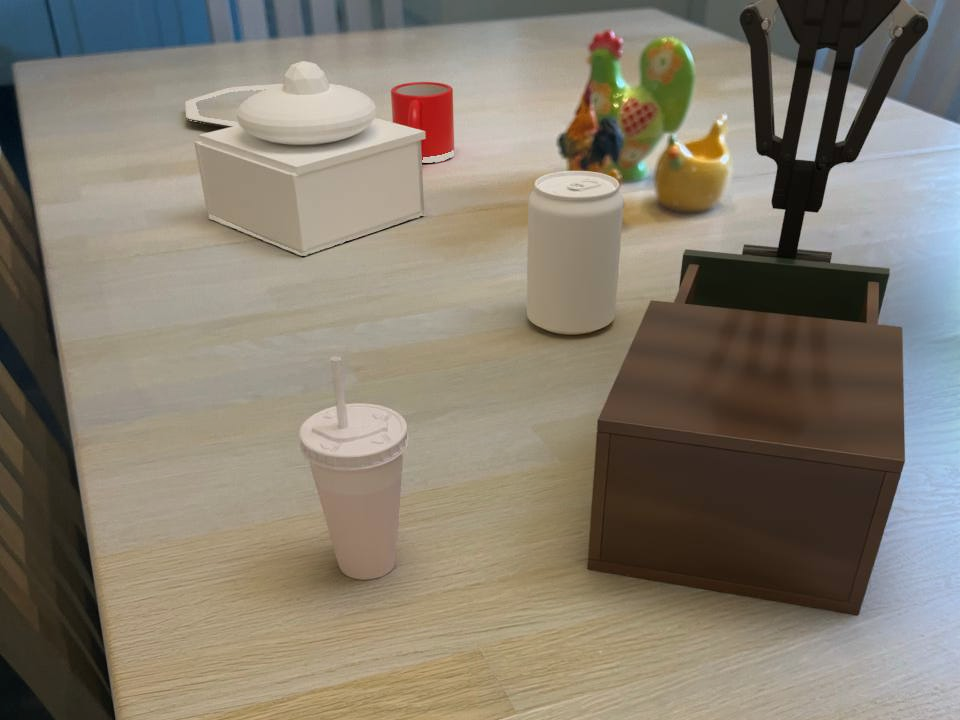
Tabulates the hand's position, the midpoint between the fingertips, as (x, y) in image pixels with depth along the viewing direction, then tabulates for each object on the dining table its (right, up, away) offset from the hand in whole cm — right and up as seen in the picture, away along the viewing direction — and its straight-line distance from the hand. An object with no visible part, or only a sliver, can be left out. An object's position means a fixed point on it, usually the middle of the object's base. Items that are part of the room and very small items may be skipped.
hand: (786, 251), depth 81 cm
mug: (-32, +31, +51) cm, 67 cm away
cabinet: (-7, -23, -13) cm, 27 cm away
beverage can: (-16, -2, +12) cm, 20 cm away
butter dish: (-43, +17, +34) cm, 57 cm away
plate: (-56, +47, +69) cm, 100 cm away
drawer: (-3, -12, -1) cm, 12 cm away
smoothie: (-32, -26, -16) cm, 44 cm away
